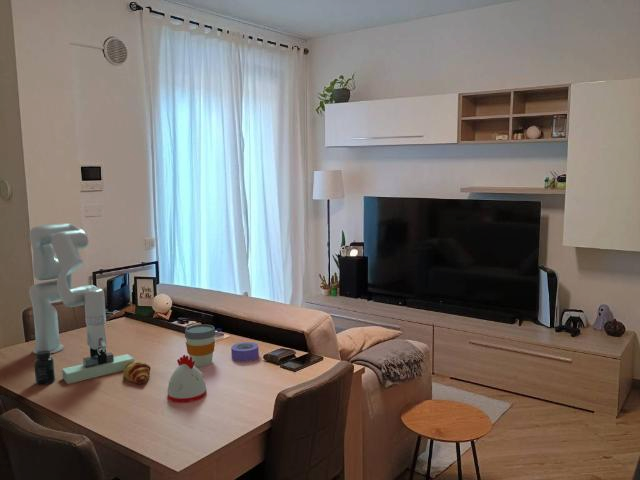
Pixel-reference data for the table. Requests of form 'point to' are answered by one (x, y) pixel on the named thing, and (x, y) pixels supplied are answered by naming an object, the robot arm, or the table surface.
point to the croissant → (137, 372)
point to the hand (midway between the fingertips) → (98, 360)
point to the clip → (96, 360)
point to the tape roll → (245, 351)
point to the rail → (95, 369)
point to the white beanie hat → (186, 382)
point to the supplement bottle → (44, 368)
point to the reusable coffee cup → (200, 344)
